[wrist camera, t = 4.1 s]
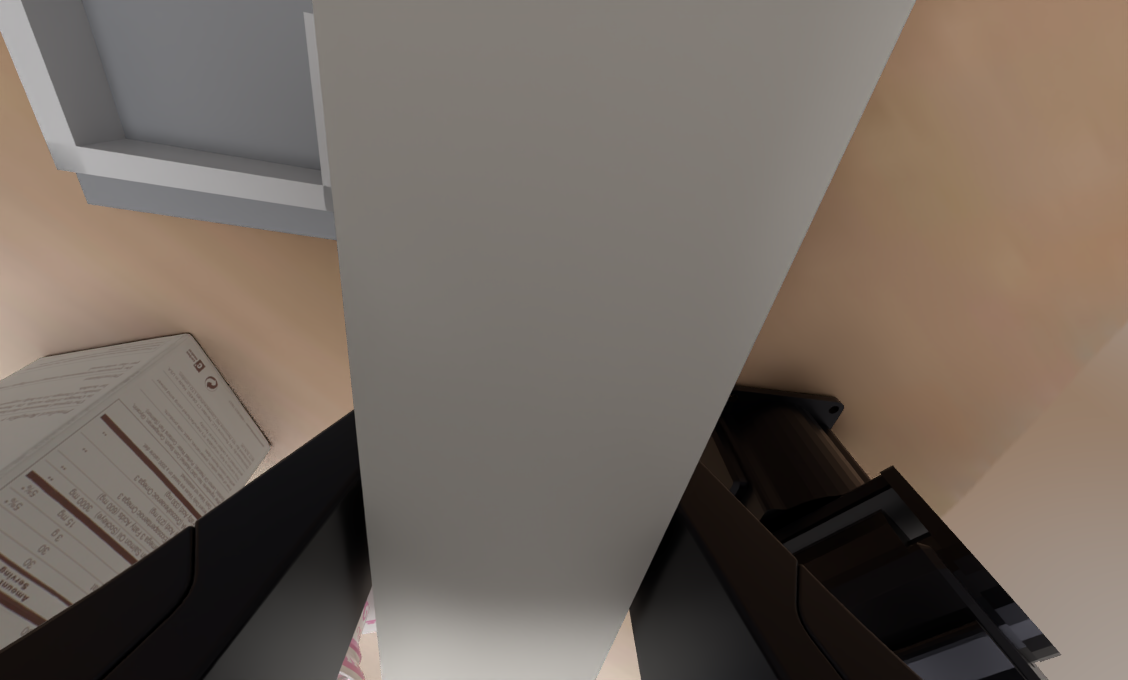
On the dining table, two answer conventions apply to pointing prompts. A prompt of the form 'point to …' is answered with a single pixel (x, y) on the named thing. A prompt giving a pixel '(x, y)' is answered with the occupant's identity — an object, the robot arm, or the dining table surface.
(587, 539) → the slat
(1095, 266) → the dining table surface
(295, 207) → the grey bracket base
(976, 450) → the dining table surface
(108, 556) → the supplement box
